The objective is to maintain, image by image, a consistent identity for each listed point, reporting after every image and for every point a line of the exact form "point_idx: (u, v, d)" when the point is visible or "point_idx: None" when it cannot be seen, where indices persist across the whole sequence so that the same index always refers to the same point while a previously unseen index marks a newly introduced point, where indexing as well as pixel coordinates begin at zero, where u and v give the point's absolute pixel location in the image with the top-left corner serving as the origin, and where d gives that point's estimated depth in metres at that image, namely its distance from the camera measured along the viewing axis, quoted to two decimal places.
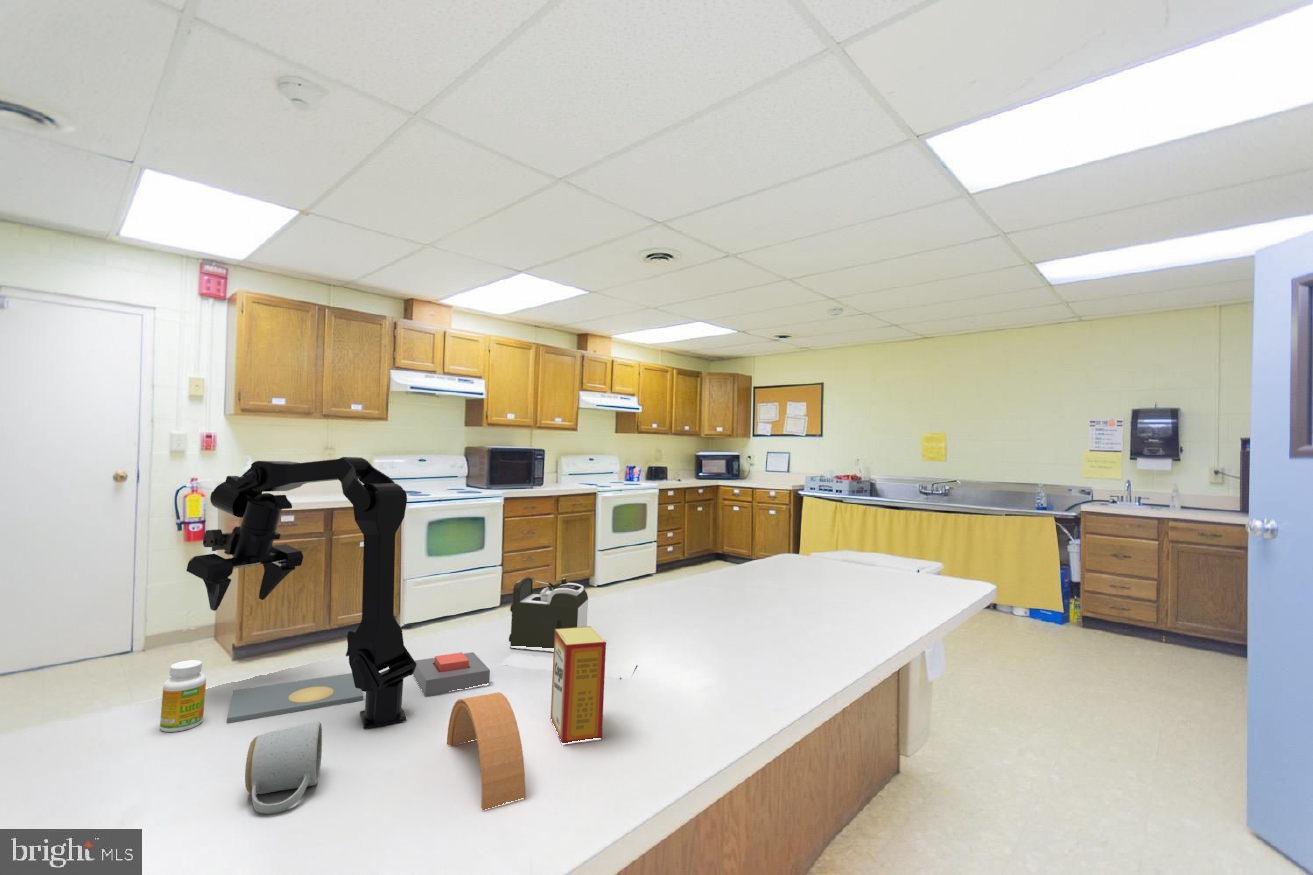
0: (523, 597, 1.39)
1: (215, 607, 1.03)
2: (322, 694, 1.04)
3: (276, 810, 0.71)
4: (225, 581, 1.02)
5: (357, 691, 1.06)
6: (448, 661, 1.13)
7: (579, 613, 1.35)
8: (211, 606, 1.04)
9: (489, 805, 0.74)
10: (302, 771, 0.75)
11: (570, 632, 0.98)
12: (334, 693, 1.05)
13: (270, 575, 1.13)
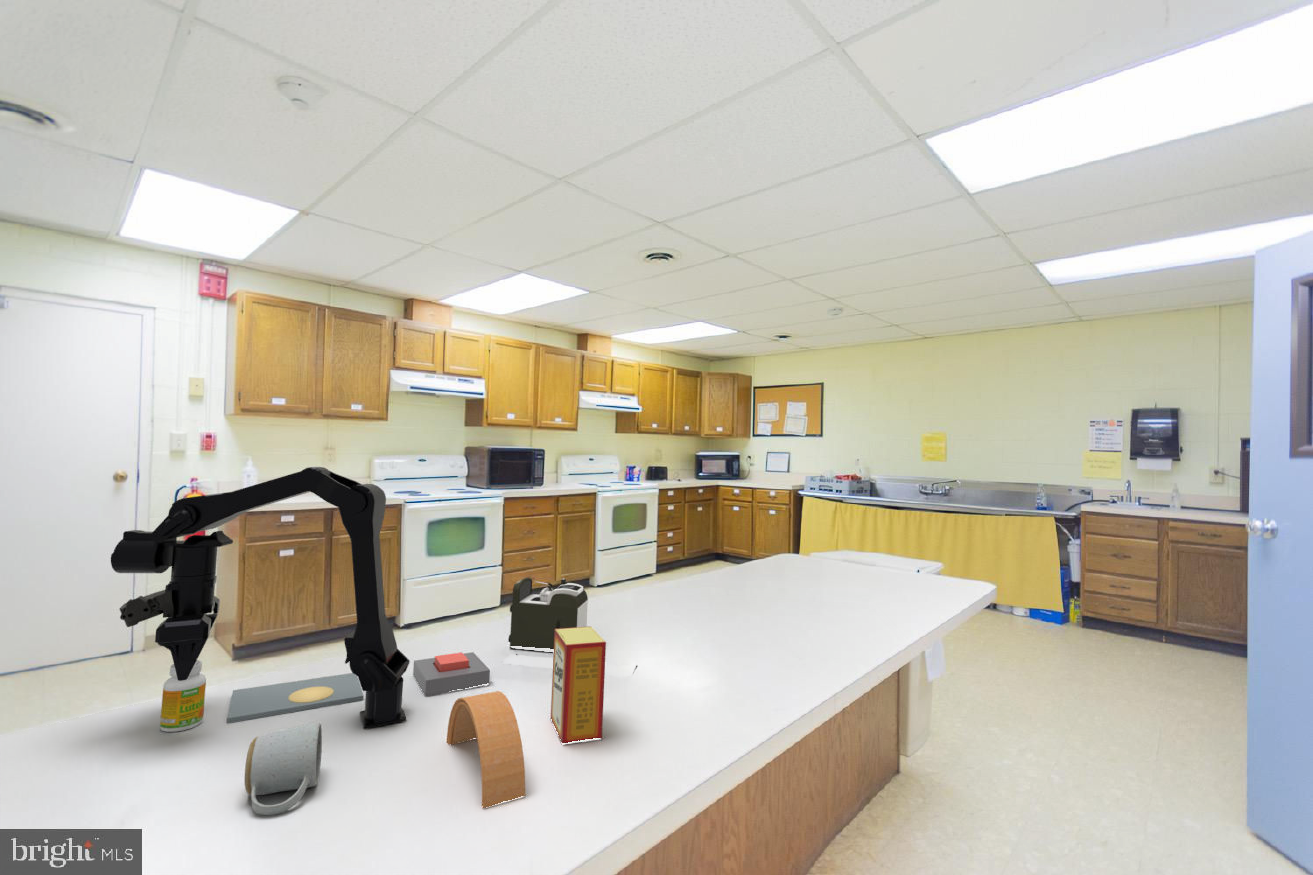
0: (523, 597, 1.39)
1: (188, 674, 0.89)
2: (322, 694, 1.04)
3: (276, 811, 0.71)
4: (208, 636, 0.90)
5: (357, 691, 1.06)
6: (448, 661, 1.13)
7: (579, 613, 1.35)
8: (180, 677, 0.89)
9: (490, 802, 0.74)
10: (302, 772, 0.74)
11: (570, 632, 0.98)
12: (334, 693, 1.05)
13: None
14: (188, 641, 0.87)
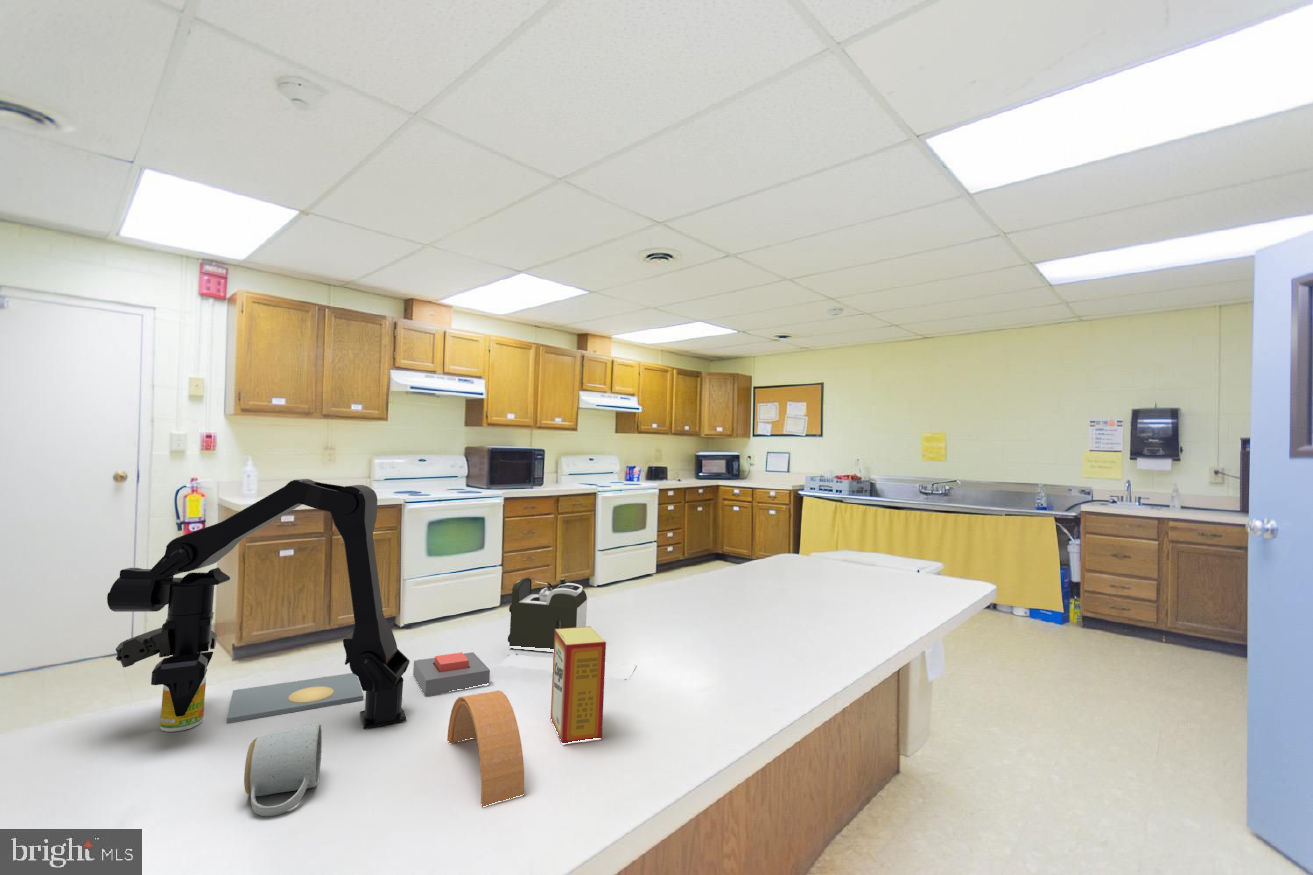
0: (522, 597, 1.39)
1: (186, 710, 0.90)
2: (322, 694, 1.04)
3: (275, 812, 0.70)
4: None
5: (357, 691, 1.06)
6: (448, 661, 1.13)
7: (578, 613, 1.35)
8: (178, 713, 0.90)
9: (489, 801, 0.74)
10: (301, 773, 0.74)
11: (570, 632, 0.98)
12: (334, 693, 1.05)
13: None
14: None
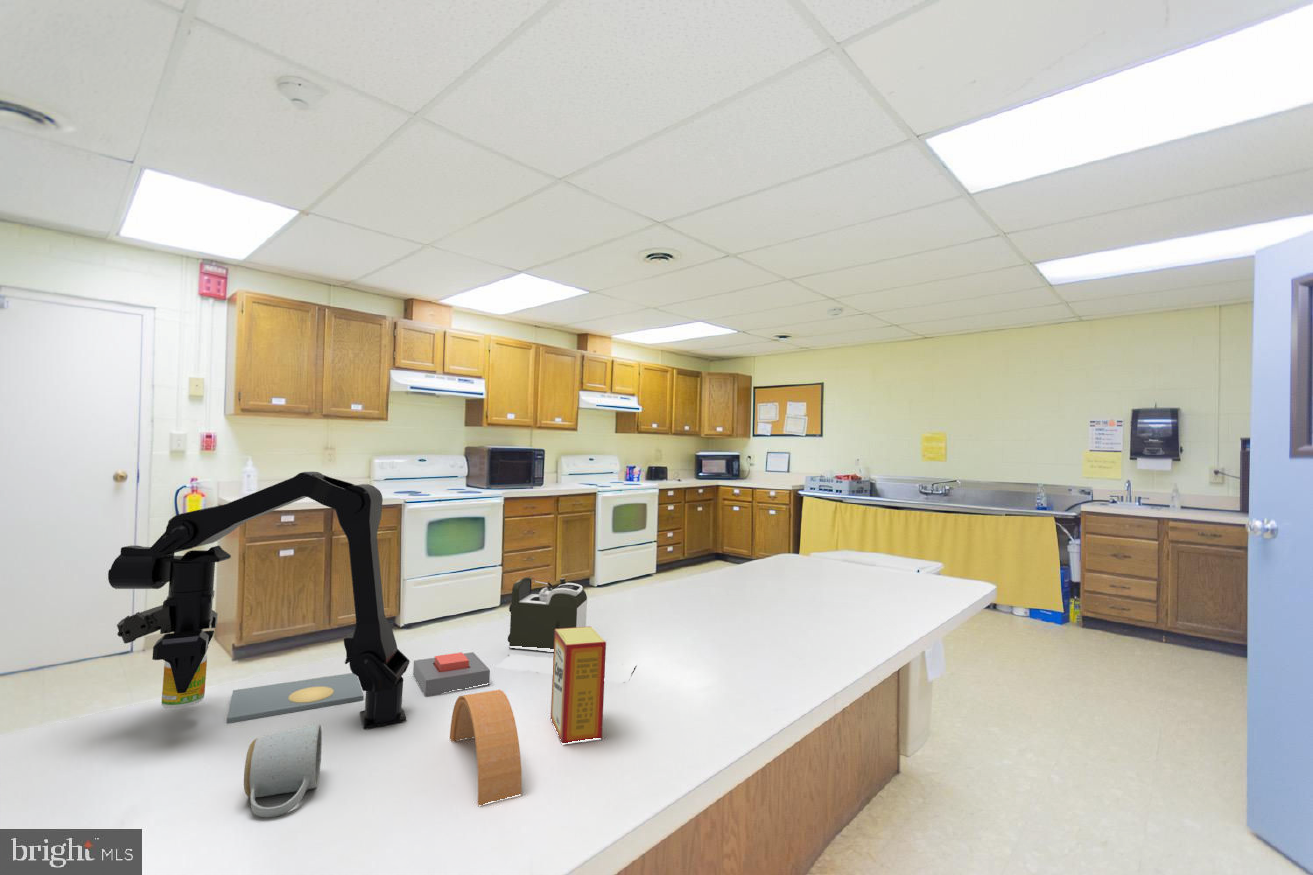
0: (522, 597, 1.39)
1: (188, 686, 0.91)
2: (322, 694, 1.04)
3: (275, 814, 0.70)
4: None
5: (357, 691, 1.06)
6: (448, 661, 1.13)
7: (578, 613, 1.35)
8: (179, 689, 0.90)
9: (485, 800, 0.75)
10: (301, 774, 0.74)
11: (570, 632, 0.98)
12: (334, 693, 1.05)
13: None
14: None
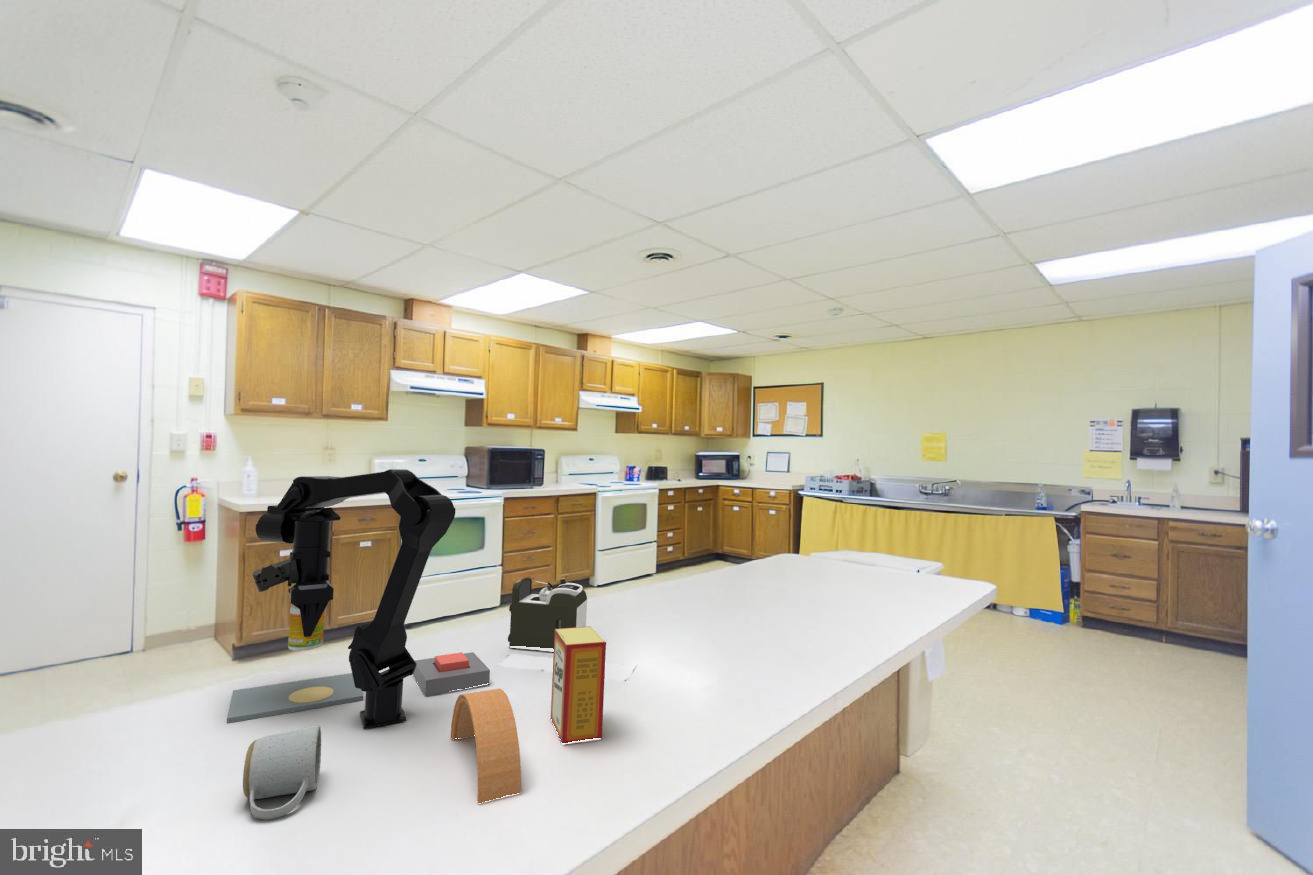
0: (522, 597, 1.39)
1: None
2: (322, 694, 1.04)
3: (274, 816, 0.70)
4: None
5: (357, 691, 1.06)
6: (448, 661, 1.13)
7: (578, 613, 1.35)
8: (306, 633, 1.01)
9: (485, 798, 0.75)
10: (301, 776, 0.73)
11: (570, 632, 0.98)
12: (334, 693, 1.05)
13: None
14: None
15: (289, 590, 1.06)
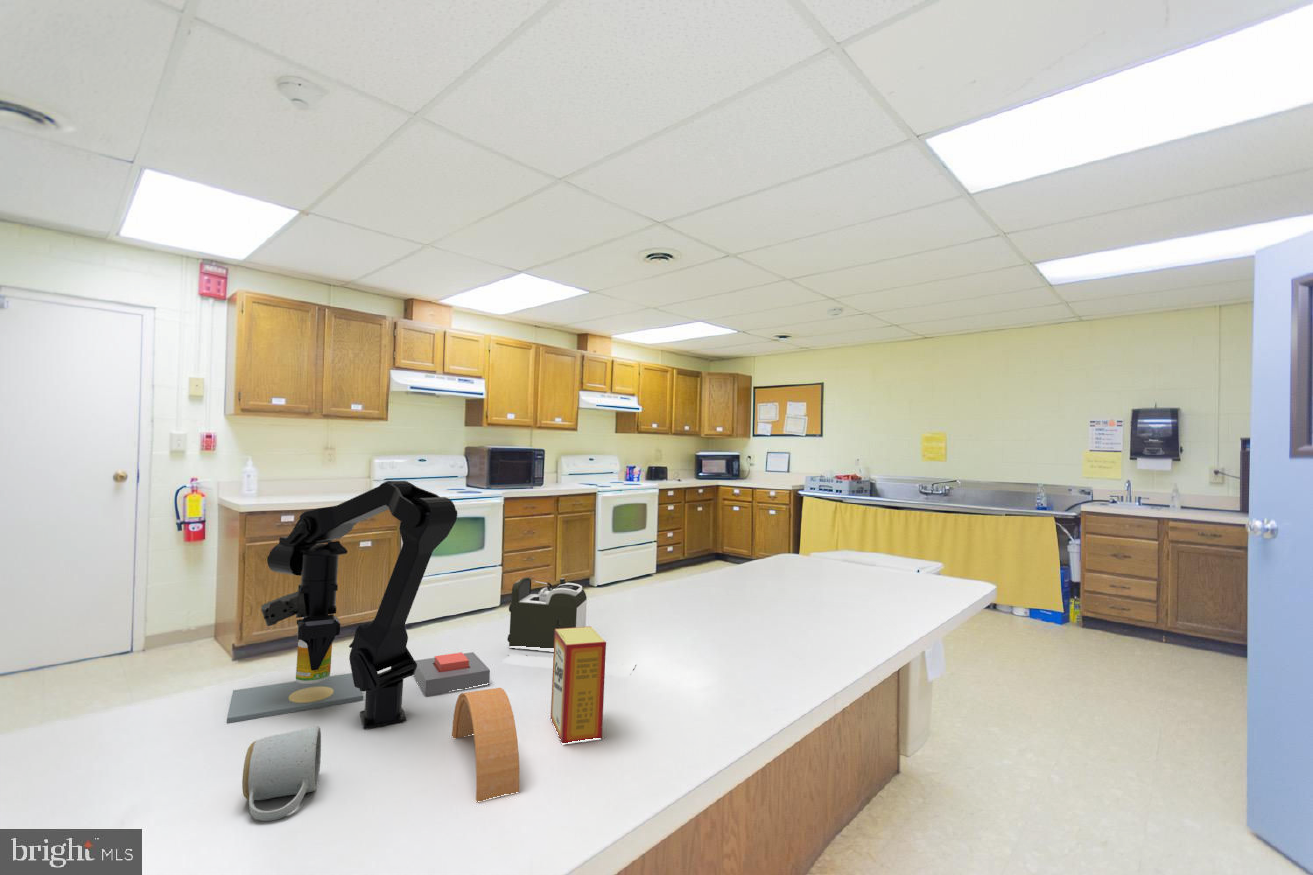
0: (522, 597, 1.39)
1: None
2: (322, 694, 1.04)
3: (274, 817, 0.70)
4: None
5: (357, 691, 1.06)
6: (448, 661, 1.13)
7: (578, 613, 1.35)
8: (313, 667, 1.01)
9: (483, 797, 0.75)
10: (300, 777, 0.73)
11: (570, 632, 0.98)
12: (334, 693, 1.05)
13: None
14: None
15: (297, 622, 1.07)
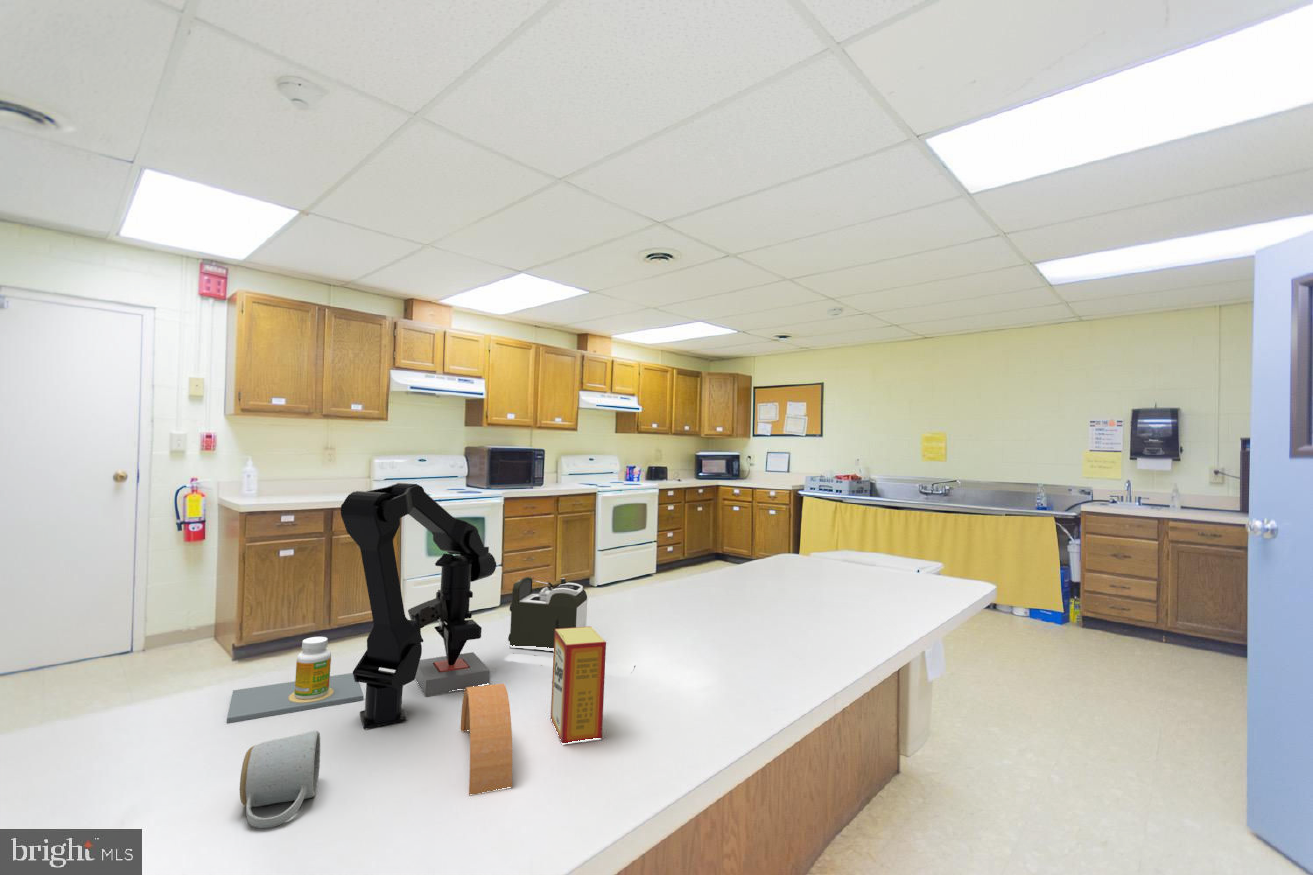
0: (522, 597, 1.40)
1: None
2: None
3: (271, 824, 0.68)
4: None
5: (357, 691, 1.06)
6: (447, 668, 1.13)
7: (578, 613, 1.35)
8: (450, 662, 1.15)
9: (476, 790, 0.77)
10: (299, 783, 0.72)
11: (570, 632, 0.98)
12: (334, 693, 1.05)
13: None
14: None
15: (436, 629, 1.16)
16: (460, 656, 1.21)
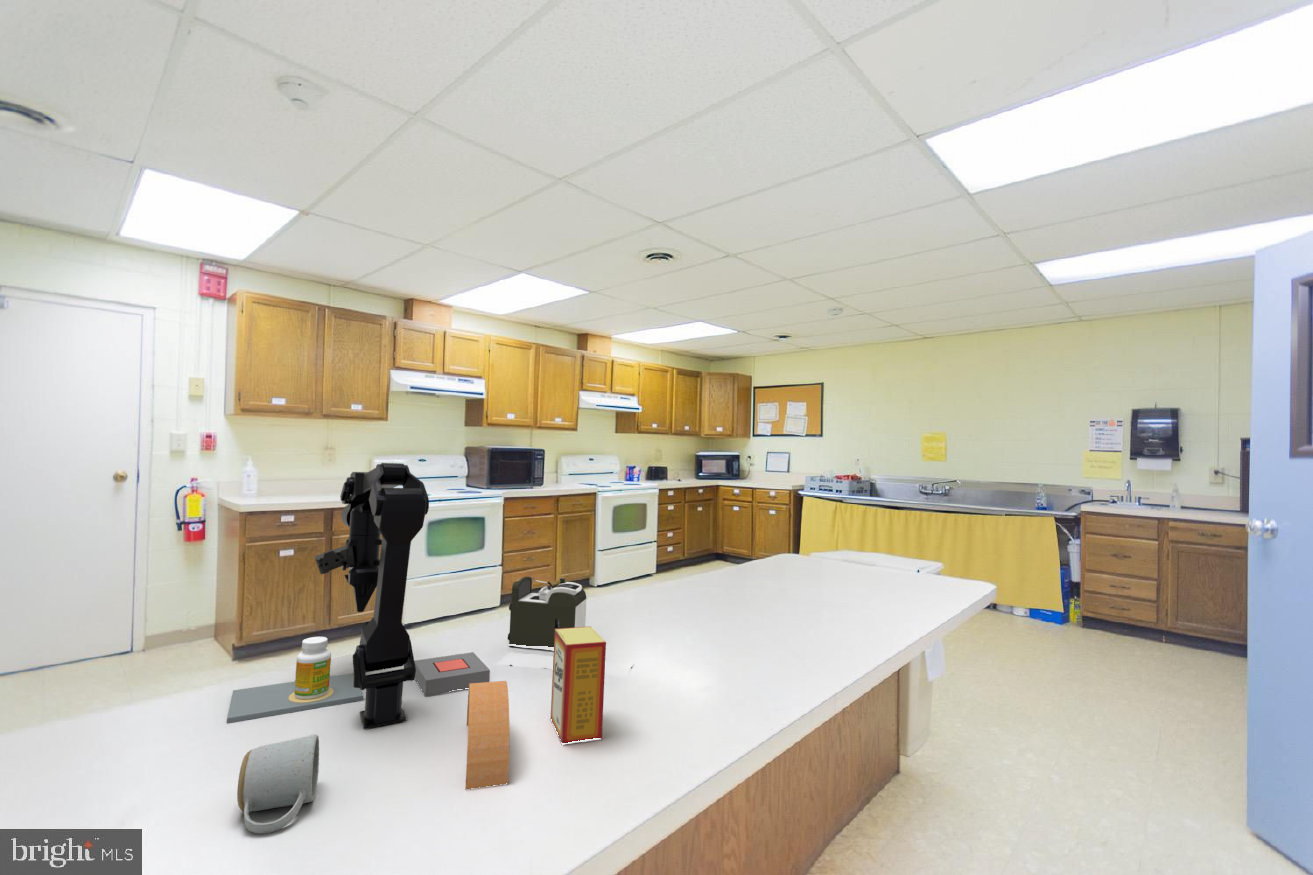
0: (522, 596, 1.40)
1: (365, 607, 1.16)
2: None
3: (269, 830, 0.67)
4: None
5: (357, 691, 1.06)
6: (447, 668, 1.13)
7: (577, 612, 1.36)
8: (359, 609, 1.15)
9: (472, 785, 0.78)
10: (297, 788, 0.71)
11: (570, 632, 0.98)
12: (334, 693, 1.05)
13: None
14: None
15: (345, 576, 1.16)
16: (460, 656, 1.21)
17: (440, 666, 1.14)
